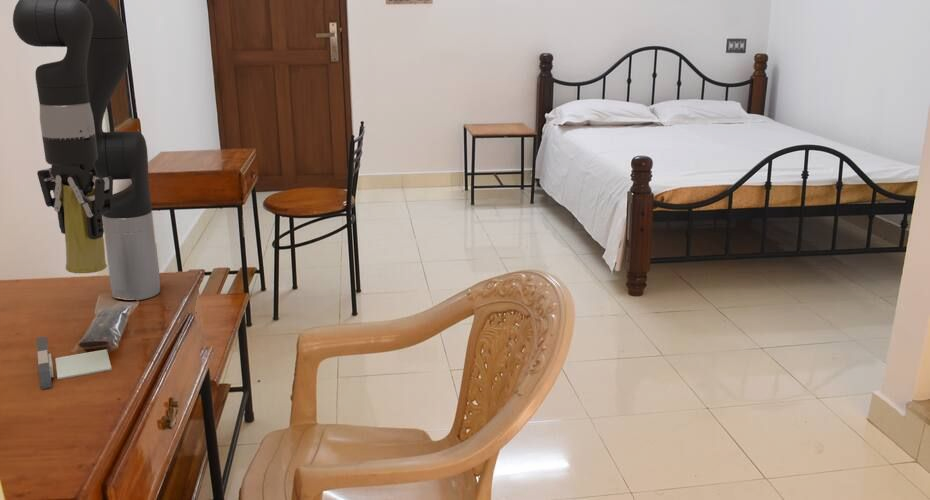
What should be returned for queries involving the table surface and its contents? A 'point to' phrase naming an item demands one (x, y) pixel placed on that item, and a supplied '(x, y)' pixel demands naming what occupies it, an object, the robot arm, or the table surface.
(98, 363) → the pad
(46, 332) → the table surface
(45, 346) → the price rail
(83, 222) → the vase
